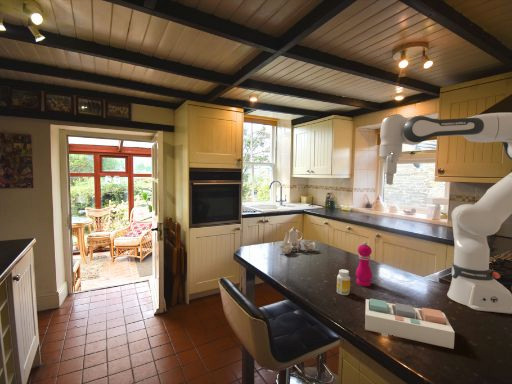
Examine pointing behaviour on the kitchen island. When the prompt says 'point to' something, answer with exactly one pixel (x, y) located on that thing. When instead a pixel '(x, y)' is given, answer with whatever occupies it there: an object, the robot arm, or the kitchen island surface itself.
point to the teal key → (378, 306)
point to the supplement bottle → (343, 282)
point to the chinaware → (294, 242)
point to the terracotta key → (433, 316)
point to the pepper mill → (364, 266)
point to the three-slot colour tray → (409, 326)
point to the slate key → (404, 310)
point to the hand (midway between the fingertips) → (389, 184)
